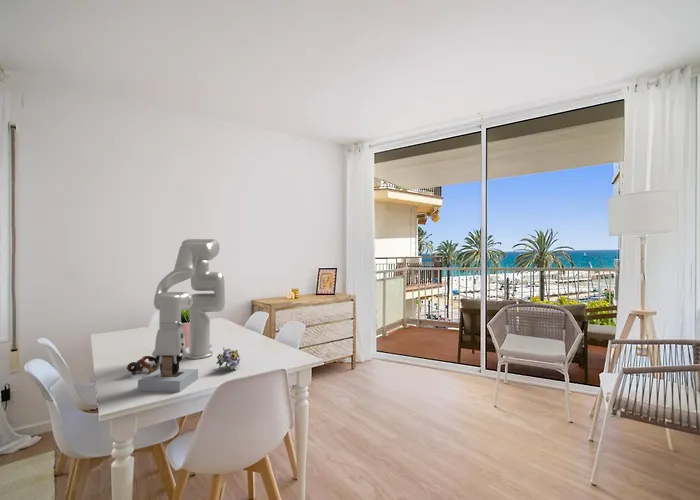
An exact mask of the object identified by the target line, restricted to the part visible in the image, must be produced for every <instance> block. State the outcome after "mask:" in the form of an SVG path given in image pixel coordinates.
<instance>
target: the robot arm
mask: <svg viewBox="0 0 700 500" xmlns="http://www.w3.org/2000/svg"><path fill="white" fill-rule="evenodd" d="M219 252H220V242H219V241H218V240H217V239H211V238H207V239H206V238H188V239H184V240H183V241H182V242H181V245H180V246H179V249H178V253H177V258H176V260H175V264H174V269H173V270H171V272H169V273H167V275H166V276H164V277H163V278H162V279H161V280H160V282H159V283H158V285H157V287H156V291H155V293H154V298H153V306H154V308H155V309H156V310H157V311H159V321H158V322H159V323H158V324H159V328H158V329H157V332H156V336H155V344H154V346H155V347H154V350H153V351H152V353H151V356H152V357H155V358H156V359H157V360H158V361H159V365H160V366H159V369H160V371H161V374H162V356H173V360H174V364H173V374H176V373H177V372H178V371H179V369H180V362H181V361H182V360H183V358H185V357H186V359H189V360H196V359H197V360H199V359H206V358H209V357H212V355H213V354H214V352H213V351H212V350H211V349H210V348H212V347H213V345H212V344H211V343H210V341H211V338H210V337H211V336H210V335H211V332H210V331H211V322H210V320H211V319H210V317H209V316H208V314H206V313H218V312H219V313H220V312H222V311H223V310H224V308H225V304H226V301H225V298H226V297H225V294H226V293H225V286H226V285H225V277H224V274H223V273H221V272H219V271H218V272H217V271H216V272H215V271H214V272H213V271H212V272H211V271H210V269H209V267H210V266H209V261H211V260H213V259H215V258H216V257H217V256H218V254H219ZM189 279H190V286H191V289H192V290H193V291H197V292H202V293H194V294H191V292H187V291H169V289H170V288H171V287H173V286H175V285H176V284H179V283H182V282H184V281H186V280H189ZM210 291H211V292H210ZM205 292H207V293H205ZM208 292H210V293H208ZM186 310H188V314H189V315H188V316H189V345H188V346H189V347H188V348H189V352H188V351H187V350H186V337H185V332H184V328H182V327H184V325H185V323H184V322H182V311H186Z"/></svg>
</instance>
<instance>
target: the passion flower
mask: <svg viewBox="0 0 700 500" xmlns="http://www.w3.org/2000/svg"><path fill="white" fill-rule="evenodd" d="M222 350H223V352H222V353H218V355H217V356H216V358H217V362H216V363H215V364H216V365H218V367H219V368H218V369H219V370H220V369H221V366H222V365H223V364H224V363H225V368H228V369H229V370H230V371H237V370H238V366H241V362H240V361H241V356H240V354H239V352H238V349H231V347H230V348H226V347H222Z"/></svg>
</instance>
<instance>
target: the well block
mask: <svg viewBox="0 0 700 500" xmlns="http://www.w3.org/2000/svg"><path fill="white" fill-rule="evenodd" d="M161 375H162V374H161V371H160V368H158V369H157V370H156V371H155V372H153V373H151V374H149V375H148V374H147V375H145V376H144V377H141V378H140V379H137V392H160V393H161V392H164V393H165V392H166V393H168V392H170V393H173V392H175V393H177V392H178V393H180V392H182V391H183V390H185V389H186V388H187V387H188V386H190V385H192V384H193V383H195V382H196V381H197V380H199V369H198V368H179V371H178V372H177V377H161Z"/></svg>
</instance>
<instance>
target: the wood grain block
mask: <svg viewBox="0 0 700 500" xmlns="http://www.w3.org/2000/svg"><path fill="white" fill-rule="evenodd" d="M173 364H174V360H173V356H162V375H161V377H177V373H176V374H173Z"/></svg>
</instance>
